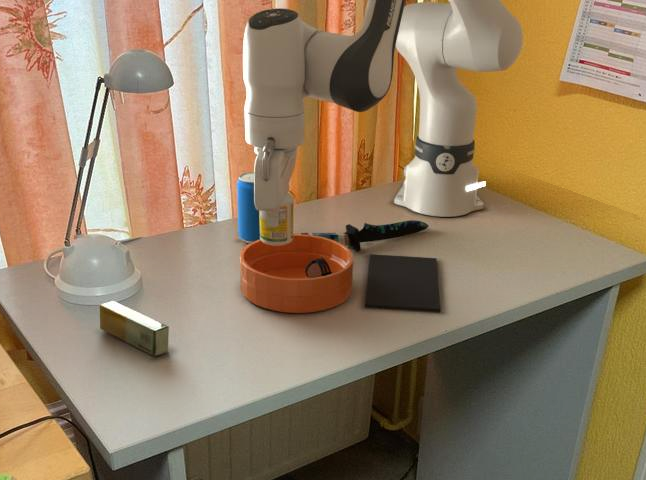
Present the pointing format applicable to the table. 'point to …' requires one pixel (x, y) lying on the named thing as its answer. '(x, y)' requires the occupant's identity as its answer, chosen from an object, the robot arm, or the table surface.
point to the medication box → (134, 328)
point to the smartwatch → (317, 268)
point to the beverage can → (247, 209)
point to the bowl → (296, 274)
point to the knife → (373, 233)
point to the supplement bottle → (285, 228)
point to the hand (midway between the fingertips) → (276, 217)
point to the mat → (403, 283)
